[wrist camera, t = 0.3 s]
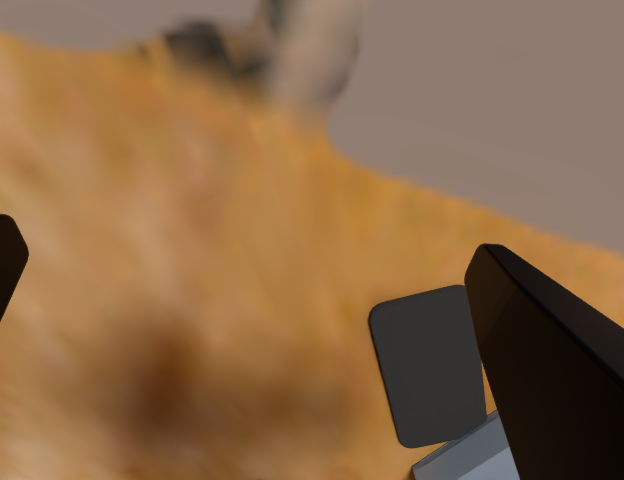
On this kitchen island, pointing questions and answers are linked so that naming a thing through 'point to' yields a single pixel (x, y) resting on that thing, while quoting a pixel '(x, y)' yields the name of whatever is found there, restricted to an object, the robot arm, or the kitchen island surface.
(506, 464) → the tray
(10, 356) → the kitchen island surface
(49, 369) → the kitchen island surface
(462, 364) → the phone
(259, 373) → the kitchen island surface
